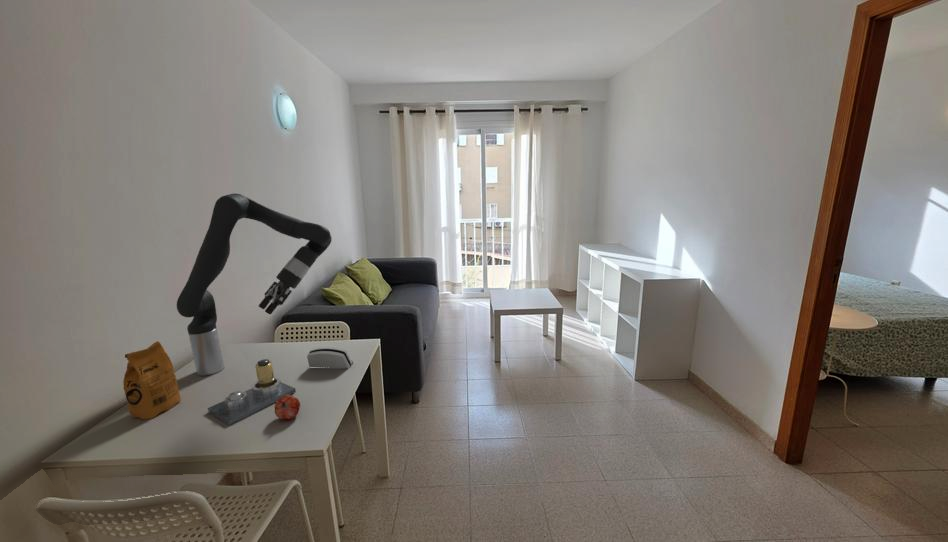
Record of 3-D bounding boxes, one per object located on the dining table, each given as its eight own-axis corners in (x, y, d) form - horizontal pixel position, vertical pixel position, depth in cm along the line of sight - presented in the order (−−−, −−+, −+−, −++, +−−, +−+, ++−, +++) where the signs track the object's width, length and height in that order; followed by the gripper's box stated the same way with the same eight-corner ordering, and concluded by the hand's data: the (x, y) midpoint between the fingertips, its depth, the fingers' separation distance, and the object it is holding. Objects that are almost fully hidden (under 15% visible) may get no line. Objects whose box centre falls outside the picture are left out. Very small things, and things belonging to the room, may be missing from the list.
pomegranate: (280, 419, 125) (263, 416, 116) (288, 395, 128) (271, 391, 119) (302, 422, 124) (286, 420, 115) (309, 398, 127) (294, 394, 118)
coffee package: (125, 418, 125) (108, 355, 120) (163, 398, 137) (149, 339, 132) (148, 422, 122) (132, 357, 118) (186, 400, 134) (172, 341, 129)
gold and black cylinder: (256, 391, 135) (252, 362, 133) (271, 385, 139) (266, 357, 137) (264, 395, 132) (259, 365, 130) (278, 389, 136) (274, 360, 134)
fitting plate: (208, 412, 126) (205, 397, 125) (273, 382, 144) (271, 369, 143) (229, 425, 119) (226, 409, 118) (295, 392, 137) (293, 377, 135)
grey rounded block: (354, 362, 158) (348, 344, 152) (350, 371, 154) (344, 353, 148) (315, 362, 160) (308, 344, 154) (310, 371, 156) (302, 353, 150)
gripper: (278, 264, 144) (249, 301, 139) (291, 269, 134) (259, 309, 129) (295, 275, 149) (267, 311, 144) (308, 281, 138) (279, 320, 133)
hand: (264, 310), depth 136 cm, fingers open, 8 cm apart
